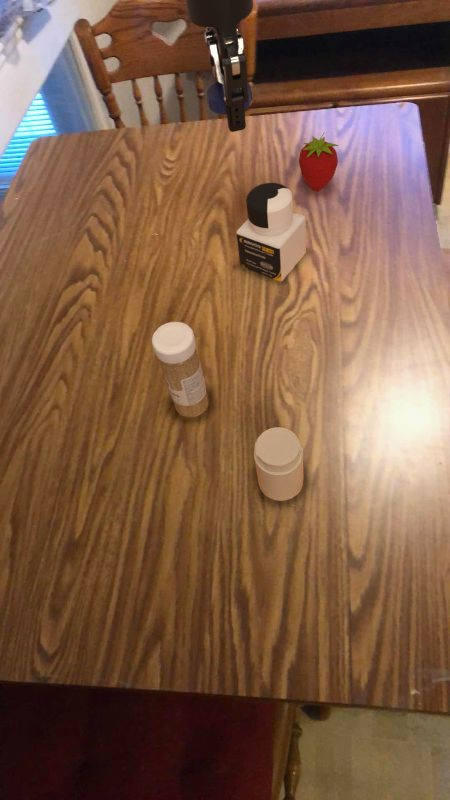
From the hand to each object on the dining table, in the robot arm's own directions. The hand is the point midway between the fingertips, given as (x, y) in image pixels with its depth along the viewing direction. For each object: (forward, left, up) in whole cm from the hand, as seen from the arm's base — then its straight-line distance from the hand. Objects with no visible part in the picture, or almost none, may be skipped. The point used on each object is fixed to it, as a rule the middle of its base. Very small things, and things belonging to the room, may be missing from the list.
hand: (232, 116), depth 75 cm
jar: (+6, +45, -17) cm, 49 cm away
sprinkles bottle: (+14, +32, -18) cm, 39 cm away
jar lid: (0, 0, +3) cm, 3 cm away
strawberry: (-13, -4, -18) cm, 22 cm away
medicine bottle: (-2, +10, -18) cm, 20 cm away
